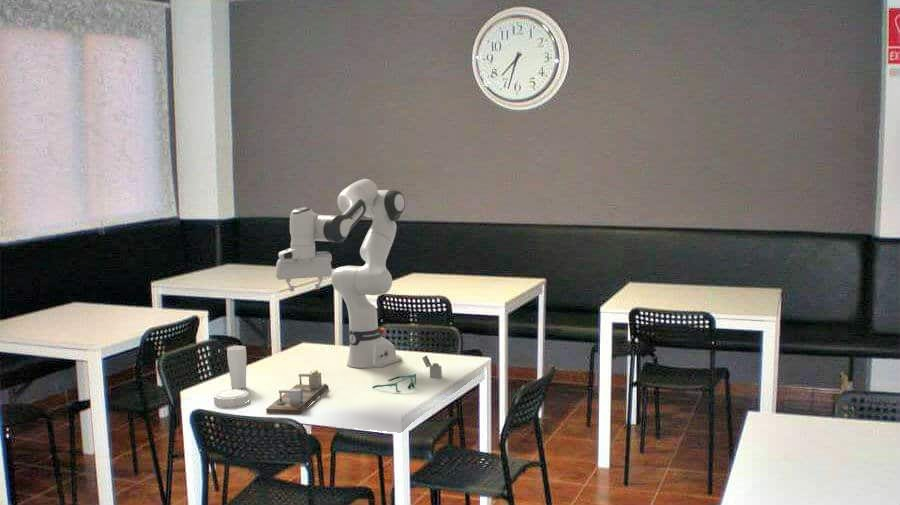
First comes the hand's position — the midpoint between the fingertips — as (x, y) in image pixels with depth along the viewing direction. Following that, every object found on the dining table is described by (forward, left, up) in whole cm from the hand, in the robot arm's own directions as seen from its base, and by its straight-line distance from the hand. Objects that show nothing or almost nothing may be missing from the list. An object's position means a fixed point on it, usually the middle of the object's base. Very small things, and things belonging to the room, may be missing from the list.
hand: (304, 290), depth 362 cm
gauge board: (+17, +16, -35) cm, 42 cm away
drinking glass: (+21, -15, -35) cm, 43 cm away
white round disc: (+33, -1, -35) cm, 48 cm away
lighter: (-35, +30, -35) cm, 57 cm away
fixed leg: (+16, +17, -33) cm, 41 cm away
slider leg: (+7, +10, -33) cm, 35 cm away
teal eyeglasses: (-17, +29, -36) cm, 49 cm away
